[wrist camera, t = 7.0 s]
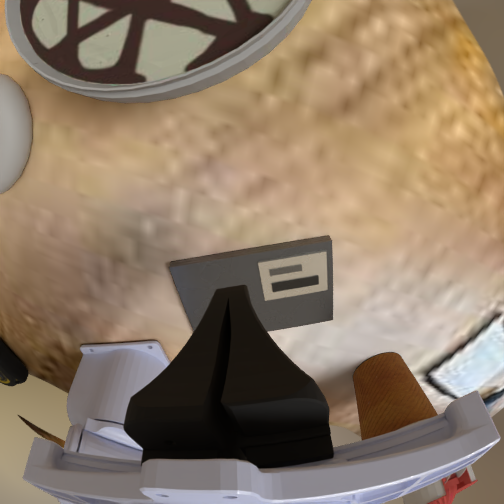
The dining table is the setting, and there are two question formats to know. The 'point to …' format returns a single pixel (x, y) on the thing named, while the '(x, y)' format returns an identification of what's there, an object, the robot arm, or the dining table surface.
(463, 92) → the dining table surface
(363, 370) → the disposable coffee cup
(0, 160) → the donut
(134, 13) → the food container
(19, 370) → the tape measure
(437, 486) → the citrus juicer
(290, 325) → the label panel
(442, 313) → the dining table surface
